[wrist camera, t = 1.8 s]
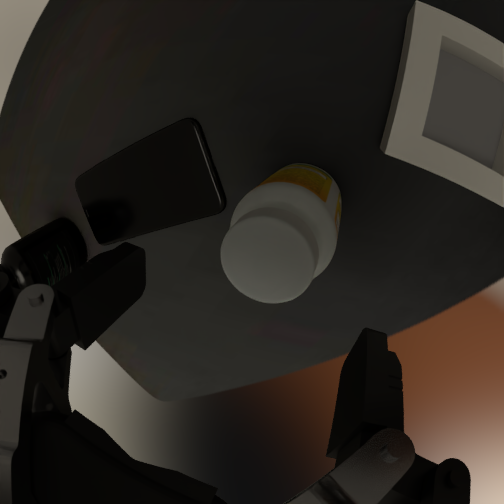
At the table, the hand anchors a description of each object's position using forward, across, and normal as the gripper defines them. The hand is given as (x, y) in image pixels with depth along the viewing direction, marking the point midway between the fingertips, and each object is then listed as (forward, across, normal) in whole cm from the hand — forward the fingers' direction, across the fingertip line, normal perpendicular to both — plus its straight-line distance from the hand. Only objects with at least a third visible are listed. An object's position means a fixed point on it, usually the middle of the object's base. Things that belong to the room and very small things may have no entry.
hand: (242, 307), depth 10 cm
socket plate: (+12, -9, -10) cm, 18 cm away
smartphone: (+13, +14, +3) cm, 19 cm away
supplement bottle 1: (+13, +25, +12) cm, 30 cm away
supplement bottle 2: (+12, 0, 0) cm, 13 cm away
